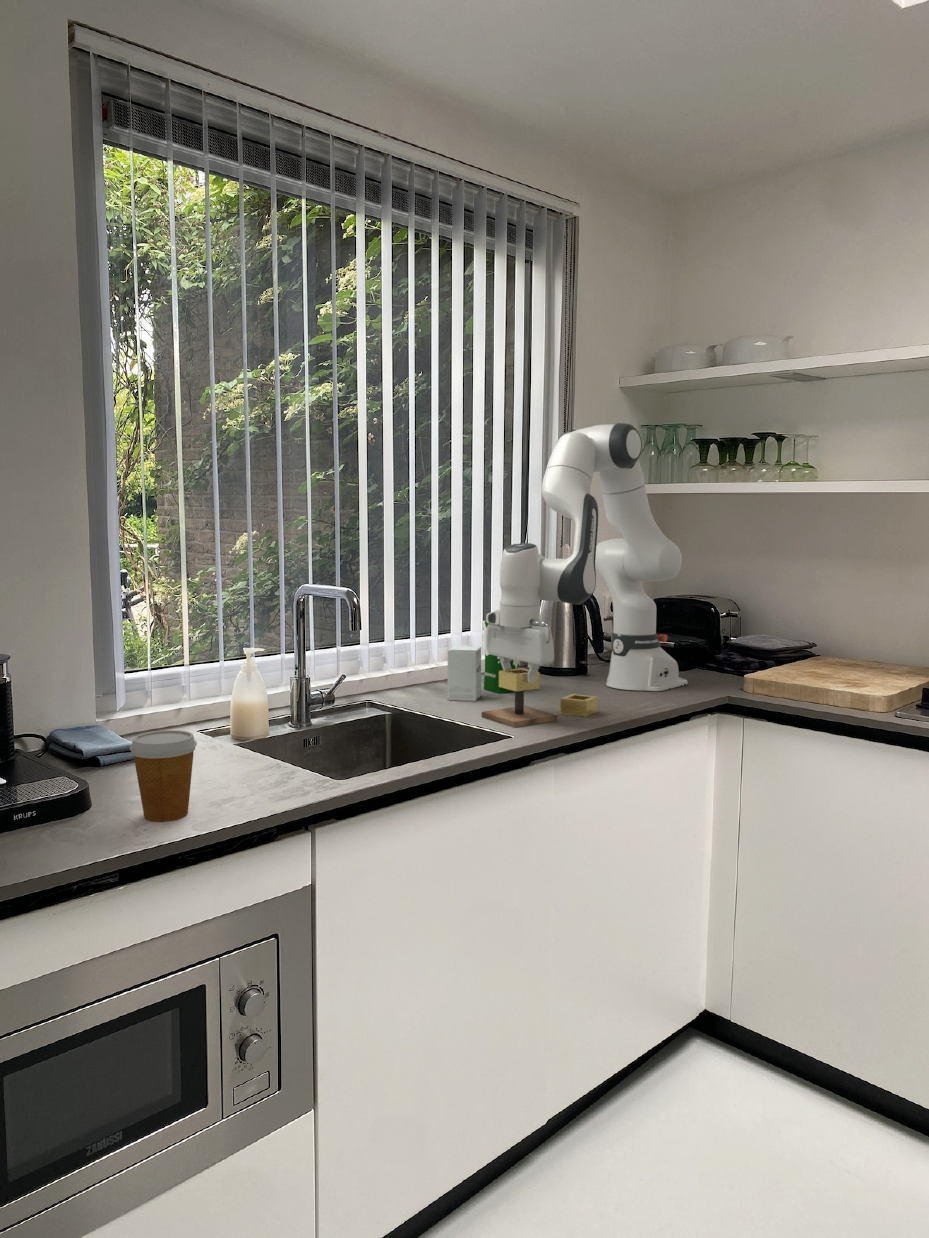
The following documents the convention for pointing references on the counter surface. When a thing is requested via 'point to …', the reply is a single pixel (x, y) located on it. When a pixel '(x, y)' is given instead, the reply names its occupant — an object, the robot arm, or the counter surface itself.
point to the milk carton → (494, 669)
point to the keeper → (519, 714)
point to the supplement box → (464, 673)
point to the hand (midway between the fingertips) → (519, 679)
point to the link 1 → (517, 680)
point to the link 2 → (579, 705)
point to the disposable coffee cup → (164, 772)
